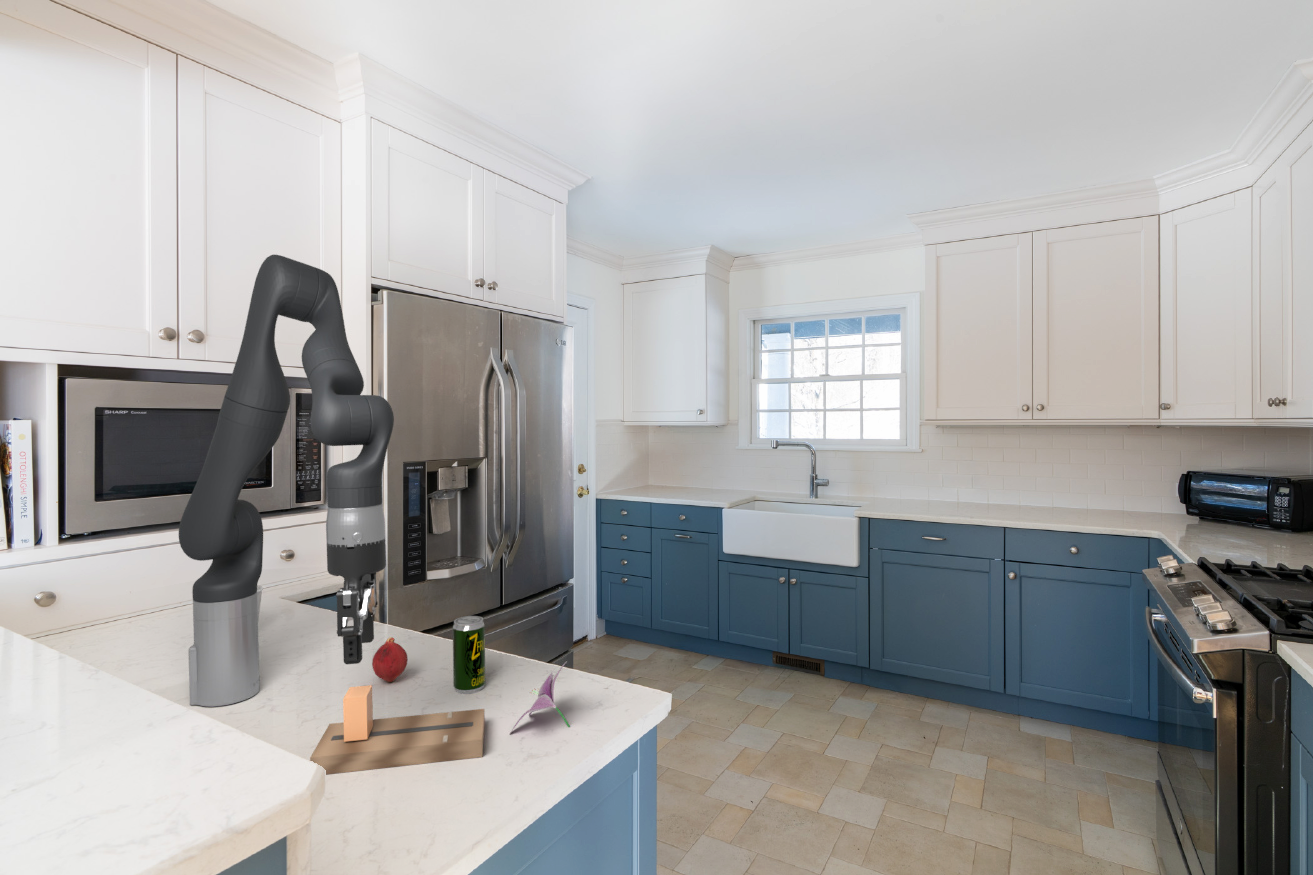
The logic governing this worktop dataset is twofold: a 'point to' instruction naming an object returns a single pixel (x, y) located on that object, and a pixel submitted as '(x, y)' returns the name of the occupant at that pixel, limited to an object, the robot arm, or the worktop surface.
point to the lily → (545, 697)
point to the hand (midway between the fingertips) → (359, 652)
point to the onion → (389, 660)
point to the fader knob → (358, 713)
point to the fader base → (403, 742)
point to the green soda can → (468, 654)
